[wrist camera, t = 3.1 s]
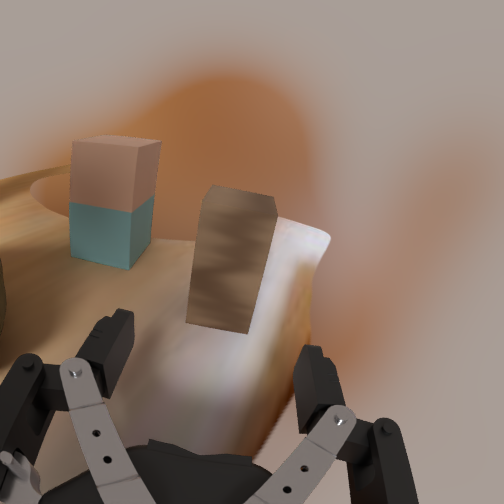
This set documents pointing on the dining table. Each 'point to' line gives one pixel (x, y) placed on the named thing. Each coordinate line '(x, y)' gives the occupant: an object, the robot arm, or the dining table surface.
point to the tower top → (114, 171)
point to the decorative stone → (2, 299)
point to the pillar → (230, 258)
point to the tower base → (110, 233)
